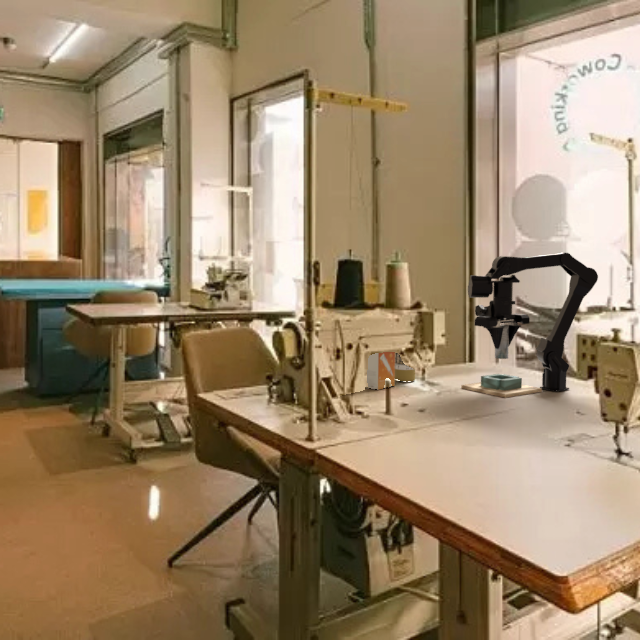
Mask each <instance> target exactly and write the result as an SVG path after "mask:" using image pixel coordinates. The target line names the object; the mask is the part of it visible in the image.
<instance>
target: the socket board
mask: <svg viewBox="0 0 640 640" xmlns="http://www.w3.org/2000/svg"><path fill="white" fill-rule="evenodd" d="M522 381H523V378H522V377H520V376H517V375H516V376H515V375H510V374H505V373H504V374H502V373H493V374H486V375H481V376H480V382H474V383H467V384H461V389H464V390H468V391H473V392H478V393H482V394H487V395H492V396H496V397H500V398H505V399H507V398H511V397H517V396H522V395H531V394H535V393H541V392H543V391H542V390H543V389H542V388H540V387H536V386H531V385H526V384H523V383H522Z"/></svg>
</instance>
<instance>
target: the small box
mask: <svg viewBox="0 0 640 640" xmlns="http://www.w3.org/2000/svg"><path fill="white" fill-rule="evenodd" d="M386 378H389V379H390V380H391V384H392V386H394V387H395V381H396V380H395V352H383V353H375V354H372V355H370V356H369V358H368V370H367V383H368V387H369V388H371V390H375V389H377V391H379V390H384V389H383V388H384V385H385V379H386ZM369 388H368V389H369Z"/></svg>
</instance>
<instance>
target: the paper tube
mask: <svg viewBox="0 0 640 640" xmlns="http://www.w3.org/2000/svg"><path fill="white" fill-rule="evenodd" d="M395 379H398V380H400V381H406V382H405V383H409V382H408V381H412V382H415V380H416V368H415V369H413V368H411V367H409V366H407V365H405V364H404V363H403V361H402V359H401V357H400V355H399V354H398V353H395Z"/></svg>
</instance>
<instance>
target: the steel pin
mask: <svg viewBox="0 0 640 640" xmlns="http://www.w3.org/2000/svg"><path fill="white" fill-rule="evenodd" d="M500 327H503V332H502V337H501V342H500V346H499V349H495V348H494V359H499V360H506V359H507V360H508V359H509V348H510V345H509V325H501V324H500Z"/></svg>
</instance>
